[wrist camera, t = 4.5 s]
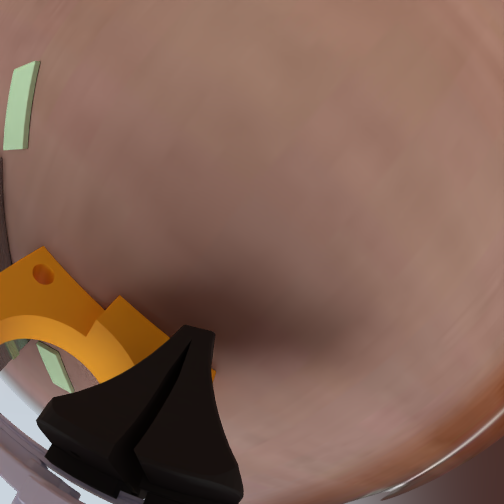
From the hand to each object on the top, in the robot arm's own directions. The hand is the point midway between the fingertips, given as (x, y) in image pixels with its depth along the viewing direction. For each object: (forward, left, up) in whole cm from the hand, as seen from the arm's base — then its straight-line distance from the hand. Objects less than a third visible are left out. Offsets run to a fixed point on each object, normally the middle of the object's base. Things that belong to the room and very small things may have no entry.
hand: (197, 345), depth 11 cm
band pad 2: (-13, -9, -1) cm, 16 cm away
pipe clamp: (-5, -2, -2) cm, 6 cm away
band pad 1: (-13, +10, -1) cm, 16 cm away
